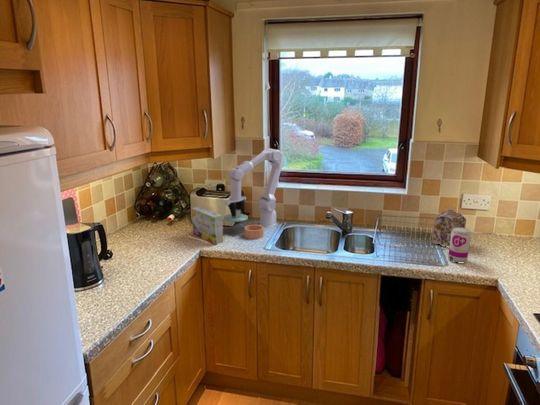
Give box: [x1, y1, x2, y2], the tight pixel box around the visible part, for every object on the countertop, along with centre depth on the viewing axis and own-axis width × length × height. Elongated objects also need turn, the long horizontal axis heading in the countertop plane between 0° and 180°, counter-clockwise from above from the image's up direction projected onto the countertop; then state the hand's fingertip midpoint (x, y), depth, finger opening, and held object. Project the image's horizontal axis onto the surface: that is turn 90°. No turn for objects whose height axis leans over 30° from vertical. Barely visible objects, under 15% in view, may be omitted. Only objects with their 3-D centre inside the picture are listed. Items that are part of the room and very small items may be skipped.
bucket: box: [243, 224, 265, 240], centre depth 220 cm, size 10×10×5 cm
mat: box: [223, 224, 245, 238], centre depth 229 cm, size 16×15×1 cm
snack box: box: [191, 206, 224, 246], centre depth 214 cm, size 21×6×15 cm, turn 42°
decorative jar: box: [431, 209, 467, 246], centre depth 211 cm, size 12×12×18 cm
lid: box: [223, 209, 249, 223], centre depth 225 cm, size 13×13×5 cm
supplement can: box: [447, 227, 472, 263], centre depth 190 cm, size 8×8×15 cm
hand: (236, 215), depth 225 cm, fingers closed on lid, 3 cm apart
